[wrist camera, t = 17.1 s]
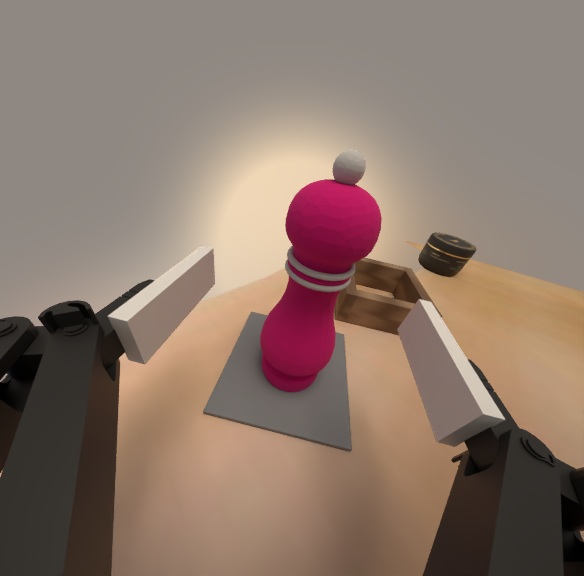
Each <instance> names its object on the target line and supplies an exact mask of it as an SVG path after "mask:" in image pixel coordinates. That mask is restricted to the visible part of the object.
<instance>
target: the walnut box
mask: <svg viewBox="0 0 584 576" xmlns="http://www.w3.org/2000/svg"><path fill="white" fill-rule="evenodd" d="M354 264H355V273H354V274H353V275H352V276H351V282H350V284H349V285H348V286H347V287H346V288H345V289H343V290H340V292H339V294H338V296H337V299H336V303H335V319H336V320H340V321H344V322H348V323H352V324H356V325H360V326H364V327H368V328H372V329H376V330H381V331H385V332H389V333H393V334H397V335H399V333H398V330H397V329H398V328H399V326H400V325H401V323H402V322H403V321H404V319H405V318H406V316H407V315H408V314H409V312H410V311H411V309H412V308H413V307H414V305H415V304H416V302H417V301H418V300H419V299H421V300H425V301H429V302H432V300H431V298H430V297H429V295H428V294H427V292H426V291H425V289H424V288H423V286H422V285H421V283H420V282H419V280H418V279H417V277H416V275H415V274H414V272H413V271H412V269H410V268H406V267H401V266H397V265H393V264H389V263H384V262H380V261H376V260H372V259H368V258H363V259H361V260H359V261H357V262H355V263H354ZM356 284H358V285H363V286H367V287H371V288H375V289H379V290H383V291H388V292H392V293H393V295H394V297H395V299H393V298H389V297H385V296H381V295H377V294H372V293H368V292H364V291H360V290H356ZM432 304H433V305H434V303H433V302H432ZM434 307H435V309H436V310H437V312H438V313H439V315H440V317H442V315H441V314H440V312H439V311H438V309H437V308H436V306H435V305H434Z"/></svg>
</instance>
